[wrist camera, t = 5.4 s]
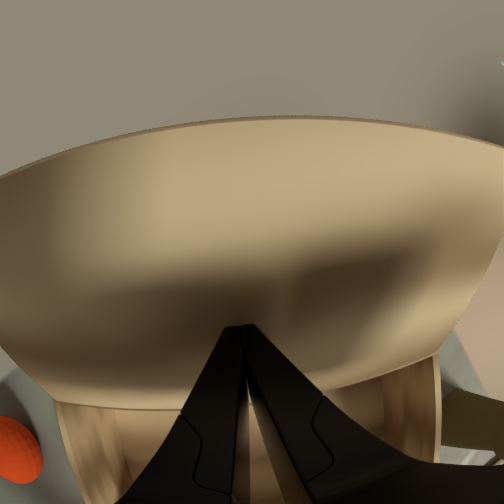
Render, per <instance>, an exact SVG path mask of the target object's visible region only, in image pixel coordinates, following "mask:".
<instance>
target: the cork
mask: <svg viewBox="0 0 504 504" xmlns="http://www.w3.org/2000/svg"><path fill="white" fill-rule="evenodd" d="M441 403H442V423H441V445H443V446H450V447H457V448H466V449H476V450H489V451H494V452H495V454H496V456H497V457H498V458H500V459H502V460H504V402H503V401H499V400H495V399H491V398H488V397H485V396H481V395H478V394H474V393H471V392H468V391H464V390H455V391H453V392H451V393H449V394H448V395H447V396H446V397H445V398H444V399H443V400H442V402H441Z"/></svg>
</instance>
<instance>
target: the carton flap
mask: <svg viewBox="0 0 504 504" xmlns="http://www.w3.org/2000/svg"><path fill="white" fill-rule="evenodd" d="M503 232H504V147H502V146H499V145H496V144H493V143H490V142H486V141H483V140H479V139H476V138H472V137H468V136H464V135H460V134H456V133H452V132H447V131H442V130H438V129H433V128H428V127H422V126H416V125H411V124H403V123H397V122H390V121H381V120H373V119H362V118H350V117H332V116H257V117H240V118H228V119H217V120H208V121H199V122H191V123H184V124H178V125H171V126H165V127H160V128H154V129H149V130H143V131H139V132H134V133H129V134H125V135H120V136H116V137H112V138H108V139H104V140H100V141H97V142H93V143H90V144H86V145H82V146H79V147H76V148H72V149H69V150H66V151H63V152H60V153H57V154H54V155H52V156H49V157H46V158H43V159H40V160H37V161H35V162H32V163H30V164H27V165H25V166H22V167H20V168H18V169H15V170H13V171H10V172H8V173H6V174H4V175H1V176H0V346H1V347H2V349H3V350H4V351H5V352H6V353H7V354H8V355H9V356H10V357H11V358H12V360H13V361H14V362H15V363H16V364H17V365H18V366H19V367H20V368H21V369H22V370H23V371H24V372H25V373H26V374H27V375H28V376H29V377H30V378H31V379H32V380H34V381H35V382H36V383H37V384H38V385H39V386H40V387H41V388H42V389H43V390H45V391H46V392H47V393H48V394H49V395H50V396H51V397H53V398H54V399H55V400H56V401H61V402H68V403H75V404H82V405H91V406H101V407H112V408H129V409H182V407H183V406H184V404H185V402H186V400H187V398H188V396H189V394H190V392H191V390H192V388H193V386H194V385H195V383H196V381H197V379H198V377H199V375H200V373H201V371H202V369H203V367H204V365H205V363H206V362H207V360H208V358H209V356H210V354H211V352H212V350H213V348H214V346H215V344H216V342H217V340H218V338H219V336H220V335H221V333H222V331H223V329H224V327H228V326H239V327H240V325H245V324H255V325H256V326H257V327H258V328H259V329H260V330H261V331H262V333H263V334H264V335H265V336H266V337H267V338H268V339H269V340H270V341H271V342H272V343H273V344H274V345H275V346H276V347H277V348H278V349H279V350H280V351H281V352H282V353H283V354H284V355H285V356H286V357H287V358H288V359H289V360H290V361H291V362H292V363H293V364H294V365H295V366H296V367H297V368H298V369H299V370H300V371H301V372H302V373H303V374H304V375H305V376H306V377H307V378H308V379H309V380H310V381H311V382H312V383H313V384H314V385H315V386H316V387H317V388H318V389H319V390H325V389H329V388H333V387H337V386H340V385H344V384H348V383H351V382H355V381H358V380H362V379H365V378H368V377H371V376H375V375H378V374H381V373H384V372H387V371H390V370H392V369H395V368H398V367H401V366H404V365H406V364H409V363H411V362H414V361H417V360H419V359H422V358H424V357H426V356H429V355H431V354H433V353H436V352H437V350H438V349H439V348H440V346H441V345H442V343H443V342H444V341H445V339H446V338H447V336H448V335H449V333H450V332H451V330H452V329H453V327H454V326H455V324H456V323H457V321H458V320H459V318H460V317H461V315H462V313H463V312H464V310H465V309H466V307H467V305H468V303H469V302H470V300H471V298H472V297H473V295H474V293H475V291H476V289H477V288H478V286H479V284H480V282H481V280H482V278H483V276H484V274H485V272H486V270H487V268H488V266H489V264H490V262H491V260H492V258H493V255H494V253H495V251H496V249H497V246H498V244H499V242H500V239H501V237H502V234H503ZM239 329H240V328H239ZM247 386H248V385H247ZM248 394H249V391H248ZM249 403H251V400H250V396H249Z"/></svg>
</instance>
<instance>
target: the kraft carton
mask: <svg viewBox="0 0 504 504" xmlns="http://www.w3.org/2000/svg"><path fill="white" fill-rule="evenodd" d="M320 391H321V392H322V393H323V395H326V396H327V397H328V398H329V399H330V400H331V401H332V402H333V403H334V404H335V405H336V406H337V407H338V408H340V409H341V410H342V411H343V412H344V413H345V414H347V415H348V416H349V417H350V418H352V419H353V420H354V421H356V422H357V423H359V424H360V425H361V426H363V427H364V428H366V429H367V430H368V431H370V432H371V433H373V434H374V435H376V436H378V437H379V438H381V439H382V440H384V441H385V442H387V443H388V444H390V445H391V446H393V447H395V448H396V449H398V450H399V451H401V452H403V453H405V454H406V455H409V456H411V457H413V458H416V459H419V460H423V461H427V462H434V463H439V459H440V446H441V423H442V403H441V379H440V365H439V355H438V350H437V352H436V353H433V354H431V355H429V356H426V357H424V358H422V359H419V360H417V361H414V362H411V363H409V364H406V365H404V366H401V367H398V368H395V369H392V370H390V371H387V372H384V373H381V374H378V375H375V376H371V377H368V378H365V379H362V380H358V381H355V382H351V383H348V384H344V385H340V386H337V387H333V388H329V389H325V390H320ZM54 403H55V408H56V413H57V418H58V422H59V426H60V430H61V434H62V438H63V442H64V445H65V449H66V452H67V455H68V458H69V461H70V465H71V467H72V470H73V473H74V476H75V479H76V481H77V484H78V486H79V489H80V491H81V494H82V496H83V498H84V501H85V503H86V504H114V503H115V502H117V501H118V500H119V499H120V498H121V497H122V496H123V495H124V494H125V492H126V491H127V490H128V489H129V487H130V486H131V485H132V484H133V482H134V481H135V480H136V478H137V477H138V476H139V475H140V473H141V472H142V471H143V469H144V468H145V467H146V465H147V464H148V463H149V461H150V460H151V459H152V457H153V456H154V454H155V453H156V452H157V450H158V449H159V447H160V446H161V444H162V443H163V441H164V440H165V438H166V436H167V435H168V433H169V431H170V429H171V428H172V426H173V424H174V422H175V420H176V418H177V417H178V415H179V414H180V411H181V409H129V408H112V407H101V406H91V405H82V404H75V403H68V402H61V401H56V400H55V399H54ZM249 436H250V500H251V504H286V503H285V501H284V498H283V495H282V493H281V490H280V487H279V484H278V482H277V479H276V476H275V473H274V470H273V467H272V464H271V462H270V459H269V456H268V453H267V450H266V447H265V444H264V441H263V438H262V435H261V432H260V429H259V425H258V422H257V419H256V416H255V413H254V410H253V406H252V403H249Z"/></svg>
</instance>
